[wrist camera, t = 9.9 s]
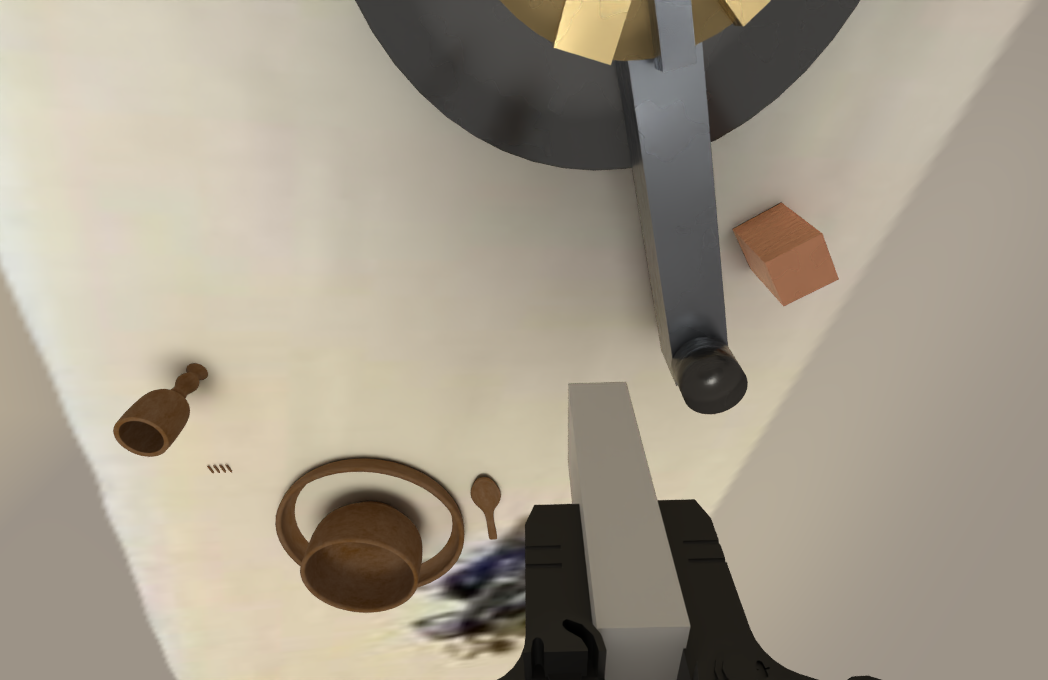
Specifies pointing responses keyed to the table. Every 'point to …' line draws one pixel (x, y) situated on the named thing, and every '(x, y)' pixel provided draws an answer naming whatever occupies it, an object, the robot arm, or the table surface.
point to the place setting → (329, 515)
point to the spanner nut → (666, 164)
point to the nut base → (610, 99)
